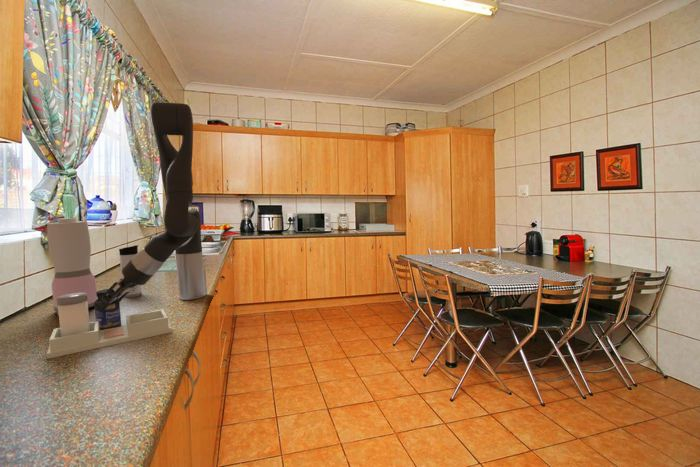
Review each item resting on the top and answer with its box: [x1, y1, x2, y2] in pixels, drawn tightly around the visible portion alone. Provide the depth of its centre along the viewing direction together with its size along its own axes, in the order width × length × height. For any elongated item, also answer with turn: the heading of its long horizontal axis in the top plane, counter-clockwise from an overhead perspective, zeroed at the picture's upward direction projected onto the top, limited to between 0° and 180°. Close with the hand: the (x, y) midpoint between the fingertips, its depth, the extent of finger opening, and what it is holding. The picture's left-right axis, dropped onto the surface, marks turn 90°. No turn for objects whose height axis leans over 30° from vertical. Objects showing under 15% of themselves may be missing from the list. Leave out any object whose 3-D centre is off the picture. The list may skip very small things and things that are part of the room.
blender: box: [46, 217, 98, 316], centre depth 125 cm, size 16×12×32 cm
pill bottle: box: [93, 288, 122, 330], centre depth 105 cm, size 6×6×11 cm
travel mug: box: [118, 245, 143, 298], centre depth 141 cm, size 6×7×20 cm
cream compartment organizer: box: [45, 293, 173, 359], centre depth 96 cm, size 27×11×13 cm, turn 124°
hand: (106, 305), depth 105 cm, fingers open, 8 cm apart
